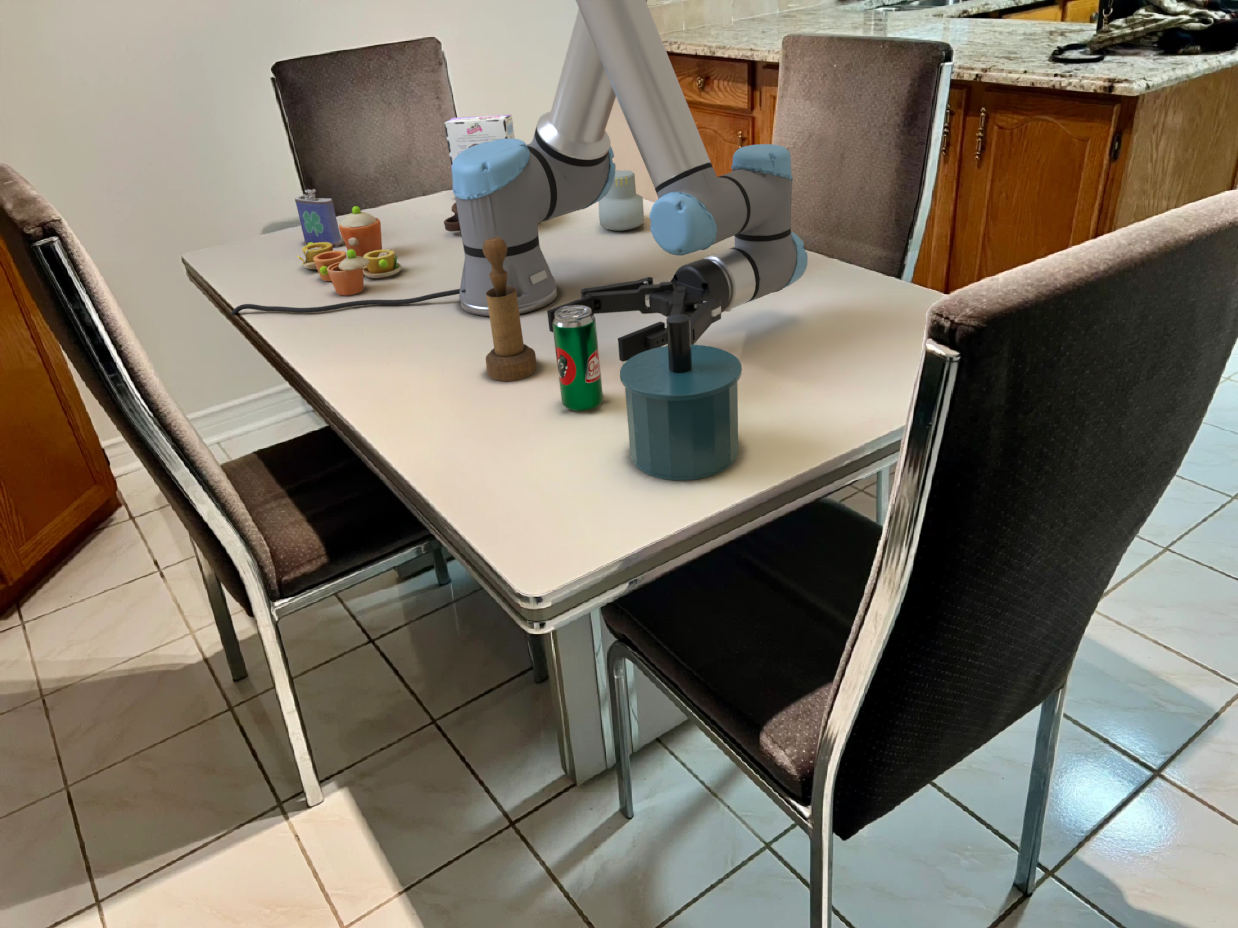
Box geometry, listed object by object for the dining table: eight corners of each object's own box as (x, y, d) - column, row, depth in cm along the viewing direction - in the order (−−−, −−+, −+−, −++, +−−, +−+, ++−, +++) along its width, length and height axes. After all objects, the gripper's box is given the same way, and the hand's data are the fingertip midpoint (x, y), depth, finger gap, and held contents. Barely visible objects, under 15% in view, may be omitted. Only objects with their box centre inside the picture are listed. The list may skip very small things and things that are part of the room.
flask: (345, 243, 184) (332, 188, 178) (334, 248, 181) (321, 192, 176) (311, 240, 188) (298, 186, 182) (300, 244, 186) (286, 190, 180)
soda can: (598, 414, 112) (589, 319, 106) (557, 413, 113) (546, 319, 107) (607, 395, 116) (598, 303, 110) (568, 394, 117) (557, 303, 111)
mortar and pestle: (498, 385, 121) (476, 249, 112) (480, 368, 126) (459, 237, 117) (545, 372, 123) (527, 238, 114) (526, 356, 129) (508, 226, 120)
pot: (609, 455, 103) (602, 376, 98) (685, 418, 109) (682, 342, 105) (683, 493, 95) (678, 409, 91) (760, 450, 101) (760, 370, 97)
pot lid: (596, 381, 99) (590, 322, 95) (682, 344, 106) (680, 287, 102) (678, 418, 90) (675, 354, 87) (767, 375, 97) (767, 314, 94)
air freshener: (644, 233, 174) (641, 178, 169) (600, 236, 175) (595, 182, 170) (644, 217, 184) (640, 165, 179) (601, 220, 184) (597, 168, 179)
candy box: (522, 190, 210) (512, 113, 202) (515, 197, 205) (505, 118, 197) (464, 192, 213) (452, 116, 204) (455, 199, 208) (442, 121, 199)
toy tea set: (296, 264, 174) (282, 213, 169) (377, 246, 180) (366, 196, 175) (331, 303, 154) (317, 245, 149) (421, 281, 160) (411, 225, 155)
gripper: (784, 336, 116) (656, 394, 104) (649, 292, 133) (527, 338, 122) (784, 278, 112) (652, 331, 101) (646, 240, 129) (520, 282, 118)
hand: (583, 335), depth 111 cm, fingers open, 13 cm apart
